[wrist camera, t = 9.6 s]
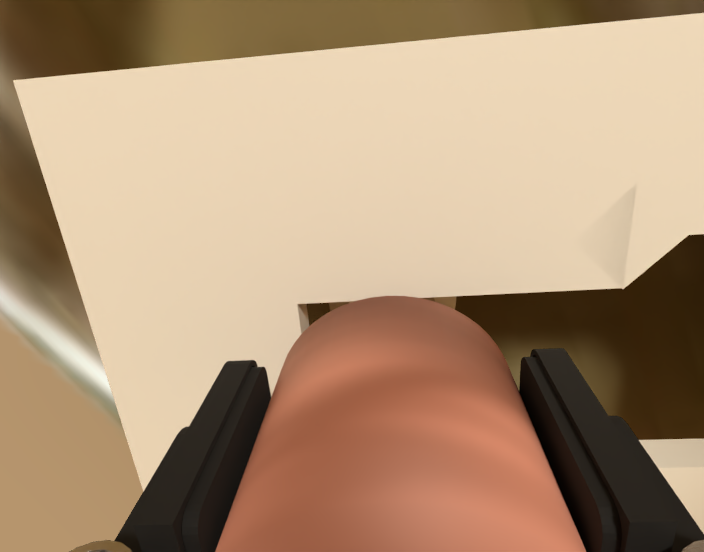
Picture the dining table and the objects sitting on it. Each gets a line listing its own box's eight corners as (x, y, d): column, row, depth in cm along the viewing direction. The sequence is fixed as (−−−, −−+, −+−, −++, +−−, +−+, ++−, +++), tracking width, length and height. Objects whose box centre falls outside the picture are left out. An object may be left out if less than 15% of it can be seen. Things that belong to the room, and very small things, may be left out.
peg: (469, 210, 15) (648, 498, 5) (468, 352, 17) (595, 780, 7) (307, 221, 15) (149, 502, 5) (324, 358, 17) (232, 765, 7)
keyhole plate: (882, 12, 14) (1344, -50, 7) (772, 403, 20) (983, 582, 13) (170, 79, 16) (12, 79, 9) (240, 418, 22) (171, 579, 15)
